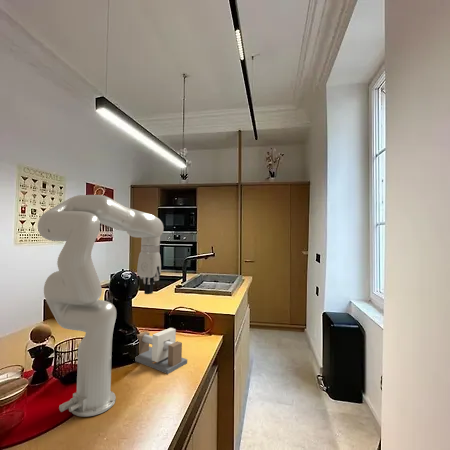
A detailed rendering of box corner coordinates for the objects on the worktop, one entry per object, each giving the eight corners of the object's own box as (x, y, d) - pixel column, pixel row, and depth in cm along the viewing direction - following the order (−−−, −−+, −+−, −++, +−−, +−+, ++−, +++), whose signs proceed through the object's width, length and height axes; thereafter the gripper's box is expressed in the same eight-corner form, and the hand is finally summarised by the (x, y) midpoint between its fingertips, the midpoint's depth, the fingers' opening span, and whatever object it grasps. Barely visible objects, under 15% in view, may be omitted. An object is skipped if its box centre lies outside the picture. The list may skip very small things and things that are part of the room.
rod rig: (167, 374, 108) (168, 349, 108) (129, 358, 120) (129, 336, 120) (187, 363, 117) (187, 340, 117) (149, 349, 129) (149, 329, 129)
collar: (157, 362, 112) (158, 336, 112) (151, 360, 114) (152, 334, 114) (175, 353, 120) (175, 329, 120) (169, 351, 122) (170, 327, 122)
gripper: (131, 248, 123) (129, 292, 122) (155, 250, 114) (154, 297, 114) (145, 248, 129) (143, 290, 128) (169, 250, 121) (167, 294, 120)
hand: (148, 293), depth 121 cm, fingers closed
